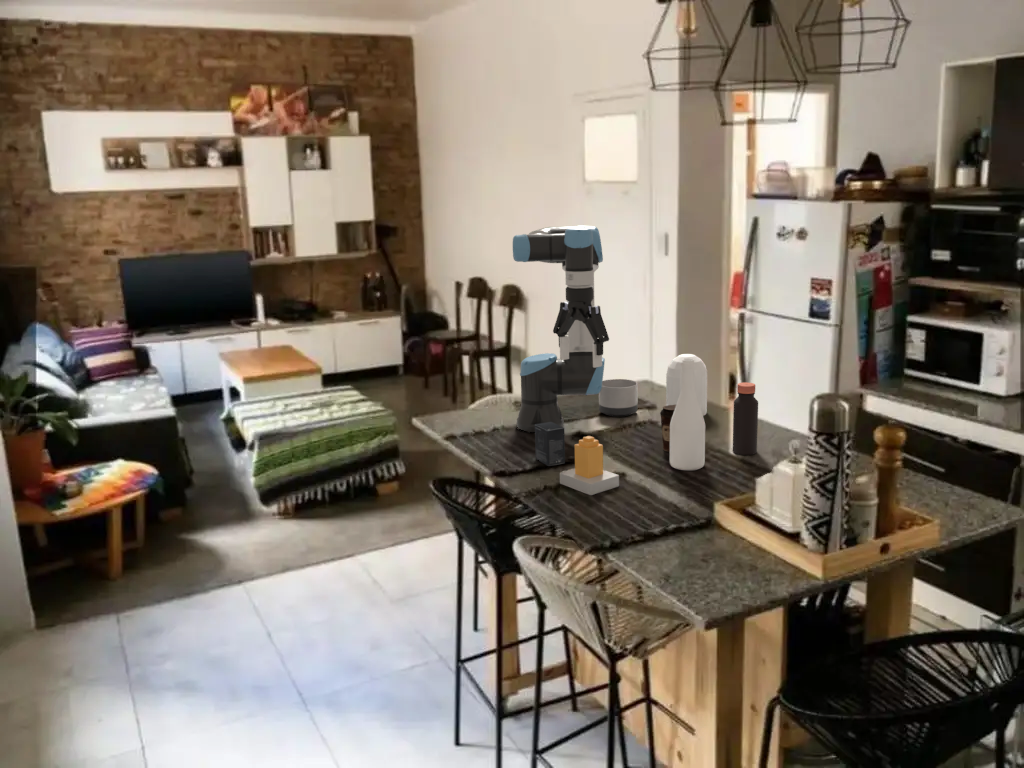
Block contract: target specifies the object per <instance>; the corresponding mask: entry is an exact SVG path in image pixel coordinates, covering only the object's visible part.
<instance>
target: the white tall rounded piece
mask: <svg viewBox="0 0 1024 768" xmlns="http://www.w3.org/2000/svg"><path fill="white" fill-rule="evenodd" d="M681 367H682V388H681V393H680V396H679V399H678V402H677V405H676V407H675V410H674V413H673V416H672V419H671V422H670V452H669V465H670V466H671V467H672V468H674V469H676V470H680V471H697V470H700V469H701V468H703V467H704V466H705V462H706V461H705V460H706V458H705V457H706V423H705V418H704V416H703V415H702V412H701V409H700V406H699V403H698V400H697V397H696V394H695V388H694V368H695V361H694V359H683V360H682V362H681Z"/></svg>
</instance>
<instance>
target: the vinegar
mask: <svg viewBox="0 0 1024 768" xmlns="http://www.w3.org/2000/svg"><path fill="white" fill-rule="evenodd" d="M736 389H737V394H738V396H737V397H736V398H735V399H734V400H733V413H732V414H733V417H732V418H733V419H732V422H733V423H732V424H733V425H732V428H733V429H732V452H733V453H734V454H736V455H739V456H753V455H755V454H757V452H758V424H759V422H758V421H759V401H758V400H757V399H756V397H755V394H756V384H755V383H753V382H745V381H744V382H739V383H737V388H736Z"/></svg>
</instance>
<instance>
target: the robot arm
mask: <svg viewBox="0 0 1024 768" xmlns="http://www.w3.org/2000/svg"><path fill="white" fill-rule="evenodd" d="M512 257H513V261H515V262H516V263H518V262H521V263H528V262H533V263H534V262H540V263H547V264H561V266H562V267H561V268H562V270H563V271H564V272H565V285H566V288H565V301H560V304H559V311H558V314H557V317H556V320H555V323H554V327H553V329H552V332H553V334H556V335H557V337H558V348H559V358H558V356H557V354H556V353H548V352H547V353H546V352H545V353H539V354H535V355H530V356H527V357H525V358H524V359H522V361H521V362H520V373H519V376H520V394H521V397H520V398H521V399H520V401H521V405H520V408H519V411H518V417H517V419H516V428H517V427H518V428H519V429H521V430H524V431H528V432H527V433H530V432H535V424H540V423H547V422H553V423H555V424H557V425H559V426H561V427H564V417H563V414H562V411H561V408H560V405H559V402H558V400H559V399H558V396H588V395H599V392H600V391H601V388H602V381H604V370H605V361H606V360H605V358H604V357H603V355H604V343H605V342H606V343H607V342H609V340H610V338H609V334H608V331H607V328H606V325H605V322H604V320H603V316H602V312H601V306H600V305H595V272H596V271H597V270H598V269H599V263H602V262H603V260H604V256H603V248H602V241H601V235H600V230H599V229H598V227H596V226H593V225H584V224H583V225H568V226H567V225H566V226H548V227H543V228H538V229H537V230H533V231H531V232H529V233H528V234H526V233H523V234H516V235H514V236H513V238H512ZM518 428H517V429H518ZM519 429H518V430H519ZM521 430H520V431H521ZM524 431H523V432H524Z"/></svg>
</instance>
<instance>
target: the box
mask: <svg viewBox="0 0 1024 768" xmlns="http://www.w3.org/2000/svg"><path fill="white" fill-rule="evenodd" d="M534 444H535V448H534V449H535V450H534V451H535V460H537V461H538V460H539V462H540V463H542V464H544V465H545V466H548V467H551V466H557V465H562V464H566V443H565V427H564V426H563V427H561V426H559V425H557V424H555V423H553V422H547V423H540V424H535V433H534Z"/></svg>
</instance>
